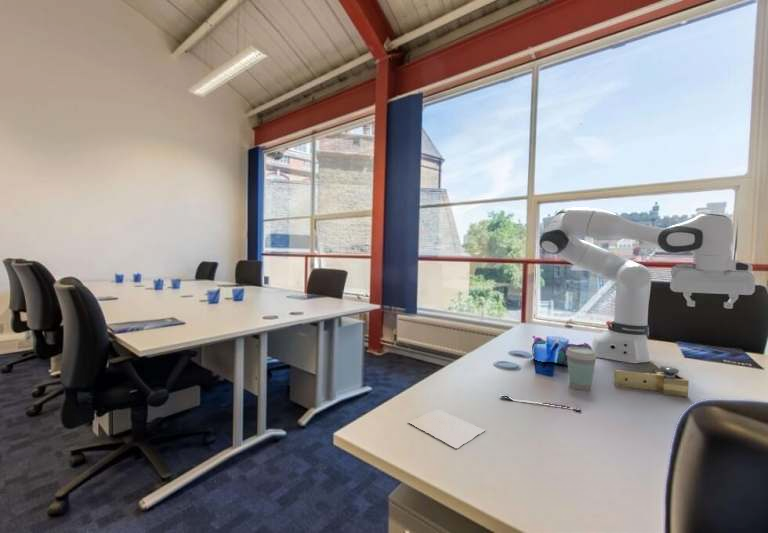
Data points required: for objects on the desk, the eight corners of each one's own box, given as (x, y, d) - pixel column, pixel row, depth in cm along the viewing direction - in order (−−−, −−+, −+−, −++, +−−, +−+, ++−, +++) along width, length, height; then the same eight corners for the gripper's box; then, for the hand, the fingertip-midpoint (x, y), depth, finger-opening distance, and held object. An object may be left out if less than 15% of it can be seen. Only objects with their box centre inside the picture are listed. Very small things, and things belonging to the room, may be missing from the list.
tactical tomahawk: (578, 407, 97) (578, 403, 97) (582, 415, 90) (582, 411, 90) (500, 393, 104) (500, 389, 104) (499, 400, 98) (499, 396, 98)
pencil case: (591, 365, 129) (592, 340, 129) (593, 372, 121) (594, 346, 121) (532, 356, 139) (533, 333, 139) (530, 363, 131) (531, 338, 131)
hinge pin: (661, 392, 104) (662, 369, 104) (657, 387, 108) (658, 365, 108) (679, 395, 102) (680, 372, 102) (675, 390, 106) (676, 367, 106)
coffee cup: (593, 384, 110) (594, 348, 110) (597, 394, 102) (599, 355, 102) (563, 380, 114) (565, 344, 113) (565, 389, 106) (566, 351, 105)
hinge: (687, 397, 101) (688, 380, 101) (617, 388, 107) (618, 373, 107) (660, 376, 118) (661, 362, 118) (601, 369, 124) (601, 356, 124)
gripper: (676, 264, 109) (673, 306, 110) (760, 265, 102) (757, 311, 103) (667, 263, 115) (665, 303, 116) (746, 264, 108) (743, 307, 109)
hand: (709, 307), depth 109 cm, fingers open, 8 cm apart
